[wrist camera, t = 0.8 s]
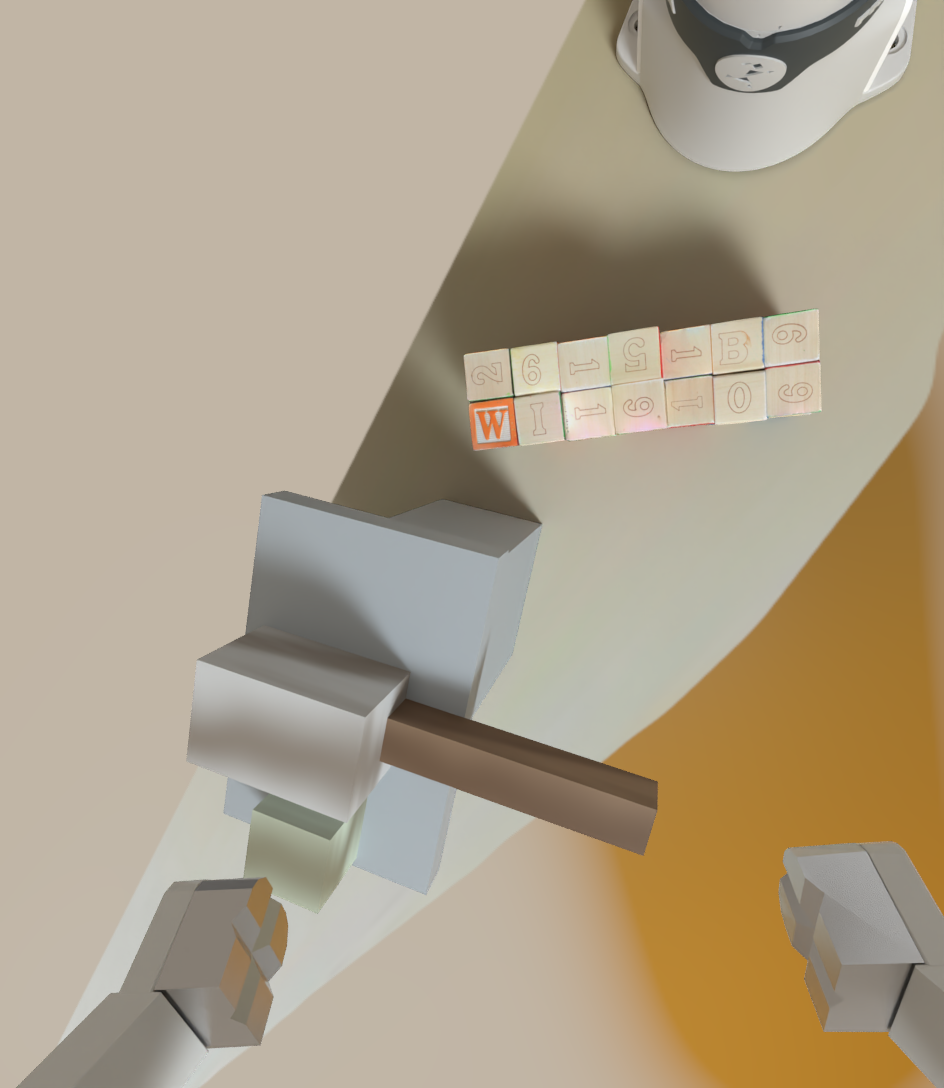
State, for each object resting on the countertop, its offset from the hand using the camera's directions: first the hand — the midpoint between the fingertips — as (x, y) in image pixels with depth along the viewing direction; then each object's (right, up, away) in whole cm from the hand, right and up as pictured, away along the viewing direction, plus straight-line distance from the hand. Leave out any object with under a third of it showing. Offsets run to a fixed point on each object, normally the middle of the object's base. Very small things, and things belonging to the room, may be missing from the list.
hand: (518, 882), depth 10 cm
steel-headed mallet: (-2, -4, +21) cm, 21 cm away
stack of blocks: (+12, +17, +40) cm, 46 cm away
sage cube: (-8, -9, +23) cm, 26 cm away
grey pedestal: (0, +2, +46) cm, 46 cm away
